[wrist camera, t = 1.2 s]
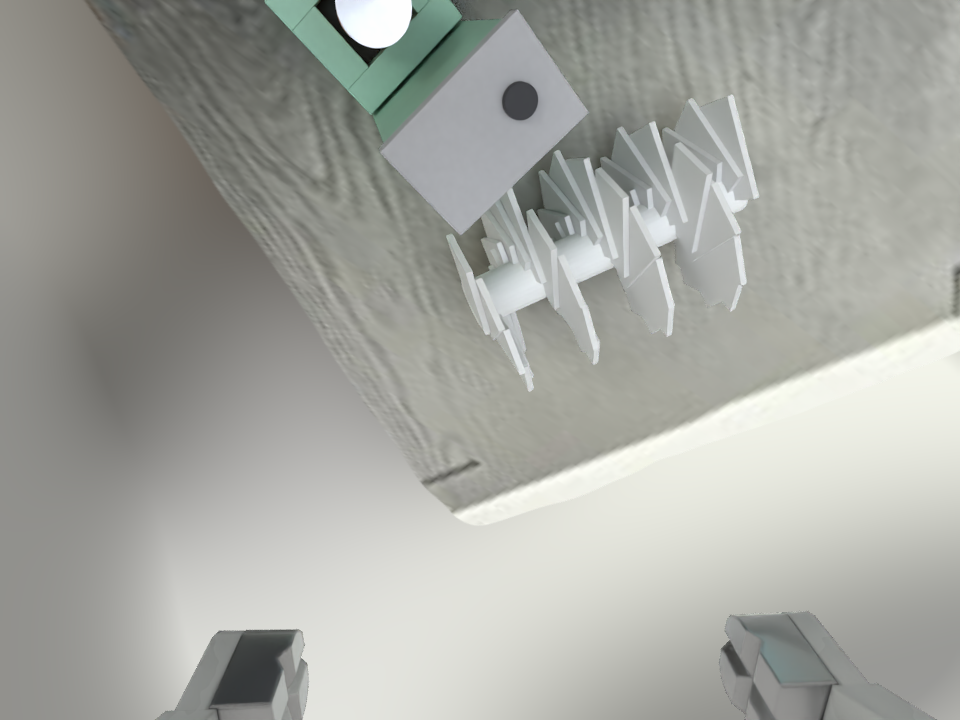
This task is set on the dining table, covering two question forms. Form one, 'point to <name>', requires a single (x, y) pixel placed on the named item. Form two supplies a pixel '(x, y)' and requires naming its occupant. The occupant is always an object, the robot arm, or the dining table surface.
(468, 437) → the dining table surface
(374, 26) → the orange silver-capped cylinder
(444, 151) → the pet feeder tower
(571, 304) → the spiral staircase
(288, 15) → the square frame
